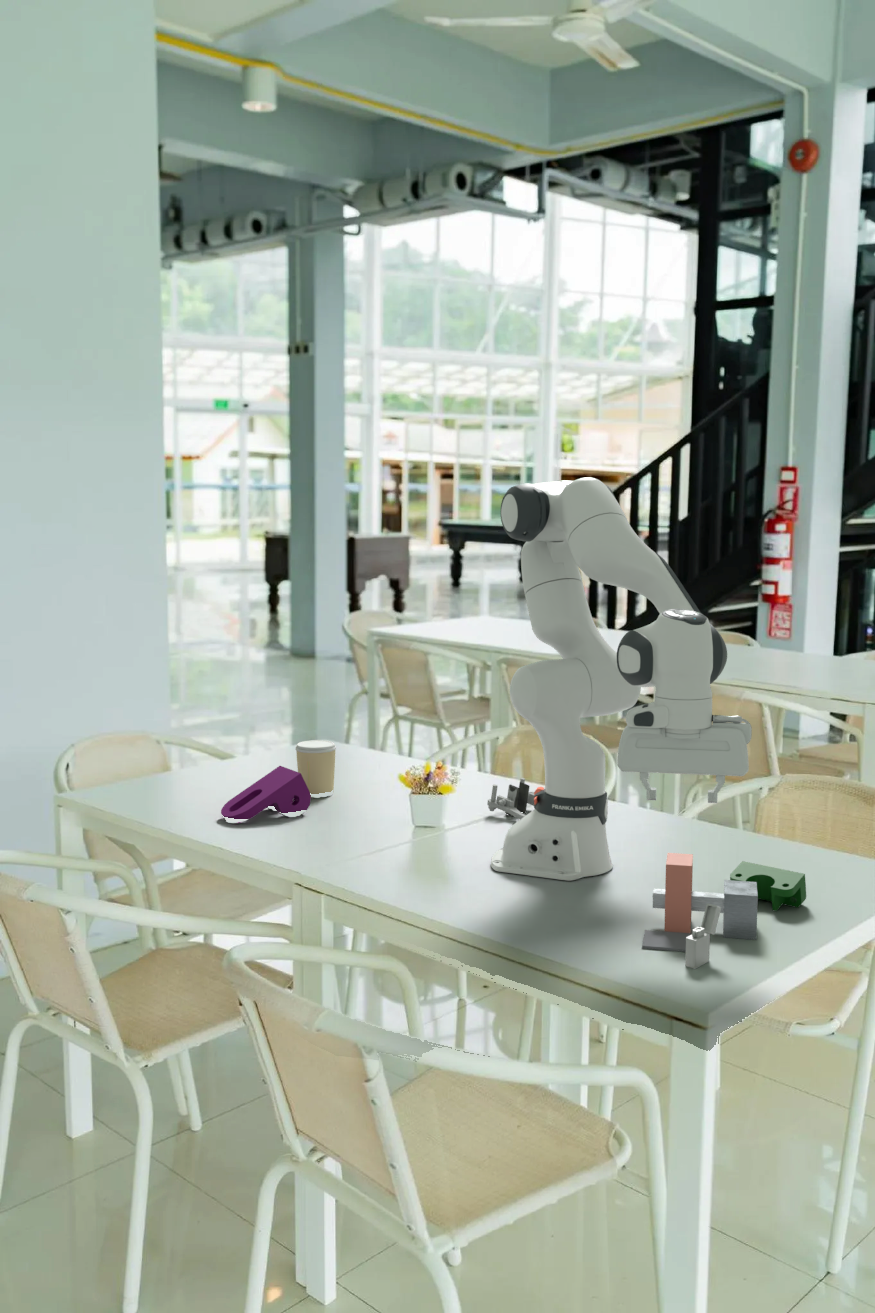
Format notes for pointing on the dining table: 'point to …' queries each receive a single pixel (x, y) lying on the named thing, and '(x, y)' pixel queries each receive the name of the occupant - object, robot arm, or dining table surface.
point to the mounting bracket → (270, 795)
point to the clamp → (773, 883)
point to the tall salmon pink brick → (678, 892)
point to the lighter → (702, 938)
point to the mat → (665, 940)
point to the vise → (726, 907)
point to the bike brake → (512, 800)
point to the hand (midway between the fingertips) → (681, 801)
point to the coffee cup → (317, 764)
